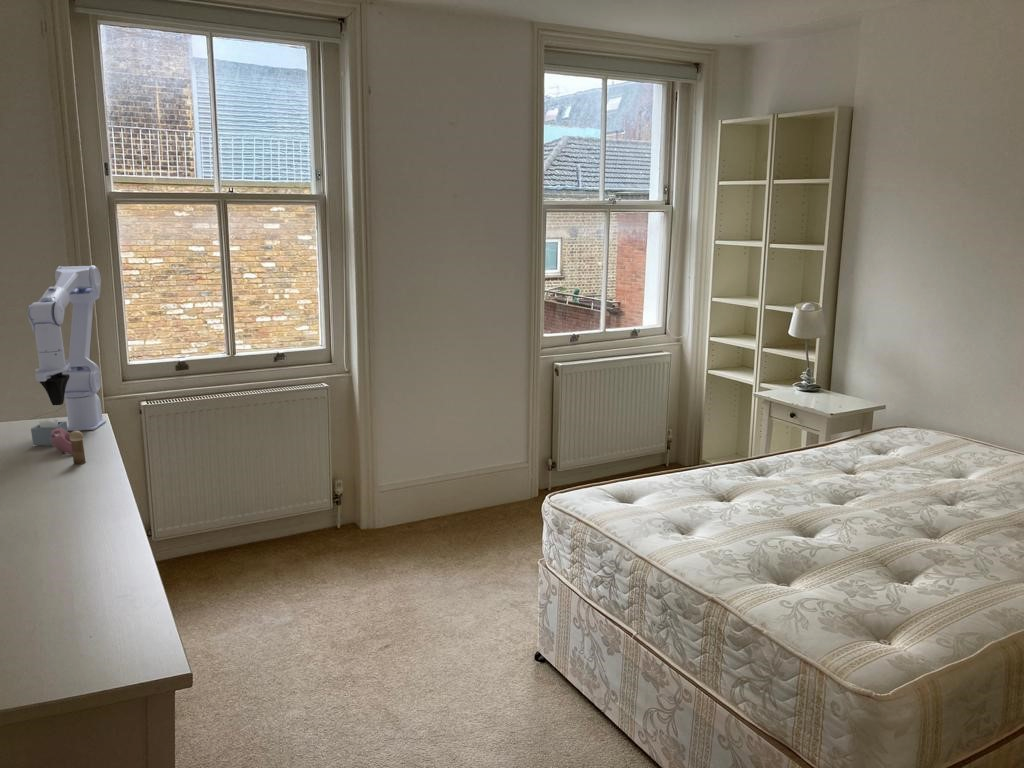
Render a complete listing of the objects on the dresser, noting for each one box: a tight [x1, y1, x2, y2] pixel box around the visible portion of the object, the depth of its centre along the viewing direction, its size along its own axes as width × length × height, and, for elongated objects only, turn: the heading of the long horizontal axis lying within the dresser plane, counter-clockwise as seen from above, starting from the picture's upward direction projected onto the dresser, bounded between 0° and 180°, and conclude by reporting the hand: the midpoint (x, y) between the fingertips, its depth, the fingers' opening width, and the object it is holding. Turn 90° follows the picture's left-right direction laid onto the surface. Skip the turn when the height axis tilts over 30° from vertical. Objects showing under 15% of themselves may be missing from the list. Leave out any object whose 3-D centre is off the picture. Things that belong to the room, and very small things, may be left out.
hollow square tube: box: [30, 421, 69, 446], centre depth 207 cm, size 6×6×4 cm
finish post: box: [69, 430, 87, 465], centre depth 188 cm, size 3×3×8 cm
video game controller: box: [50, 427, 73, 455], centre depth 199 cm, size 10×5×7 cm, turn 25°
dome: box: [38, 418, 59, 427], centre depth 207 cm, size 4×4×4 cm
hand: (57, 404), depth 205 cm, fingers closed
